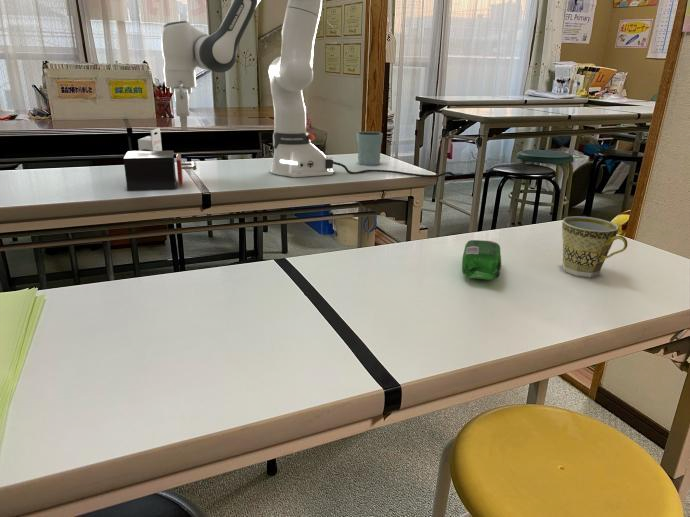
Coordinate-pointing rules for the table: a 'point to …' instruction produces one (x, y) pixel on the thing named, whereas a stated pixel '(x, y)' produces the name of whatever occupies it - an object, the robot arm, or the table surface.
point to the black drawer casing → (150, 170)
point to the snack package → (481, 260)
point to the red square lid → (179, 168)
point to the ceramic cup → (587, 244)
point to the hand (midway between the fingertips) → (184, 128)
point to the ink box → (151, 142)
